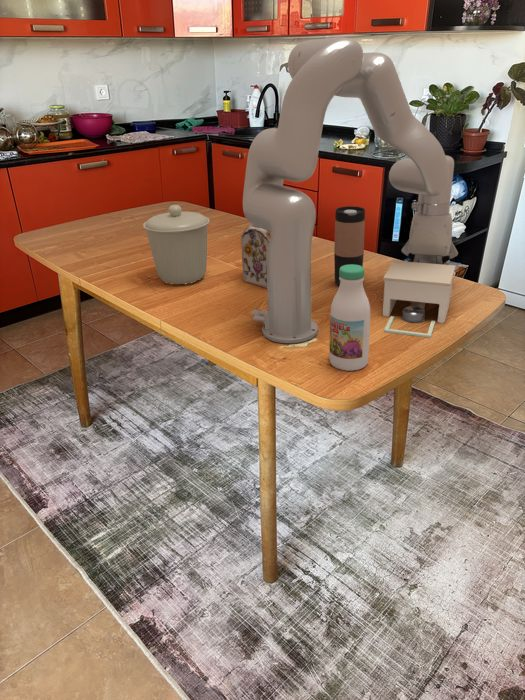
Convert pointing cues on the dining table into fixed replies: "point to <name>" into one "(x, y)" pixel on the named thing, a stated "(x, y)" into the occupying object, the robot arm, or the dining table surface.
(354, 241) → the travel mug
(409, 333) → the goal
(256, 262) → the decorative jar
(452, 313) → the dining table surface
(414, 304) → the grey block on stick
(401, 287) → the white open box
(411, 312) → the ball
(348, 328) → the milk bottle
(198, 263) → the canister
